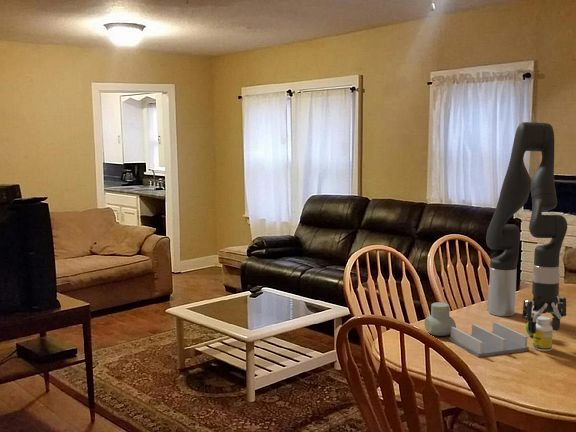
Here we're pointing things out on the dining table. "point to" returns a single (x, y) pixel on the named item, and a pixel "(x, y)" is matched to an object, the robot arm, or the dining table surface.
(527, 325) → the snail figurine
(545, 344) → the supplement bottle
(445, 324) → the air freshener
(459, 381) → the dining table surface
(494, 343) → the gray divided storage rack
